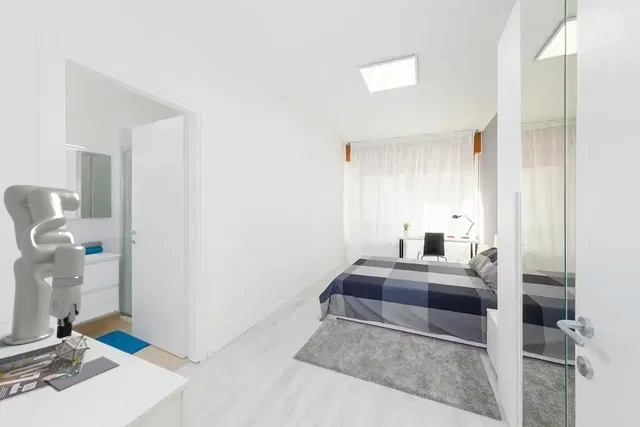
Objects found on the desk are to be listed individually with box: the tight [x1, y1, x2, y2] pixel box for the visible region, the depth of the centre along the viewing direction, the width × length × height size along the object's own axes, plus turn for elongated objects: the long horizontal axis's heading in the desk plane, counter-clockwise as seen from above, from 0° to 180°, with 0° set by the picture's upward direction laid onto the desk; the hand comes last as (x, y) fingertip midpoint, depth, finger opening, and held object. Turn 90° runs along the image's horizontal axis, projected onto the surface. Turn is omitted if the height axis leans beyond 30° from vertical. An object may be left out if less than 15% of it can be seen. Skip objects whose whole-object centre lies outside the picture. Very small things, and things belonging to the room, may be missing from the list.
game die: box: [51, 333, 91, 362], centre depth 82 cm, size 9×8×10 cm
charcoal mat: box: [48, 356, 120, 392], centre depth 76 cm, size 10×14×1 cm
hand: (64, 336), depth 85 cm, fingers closed
